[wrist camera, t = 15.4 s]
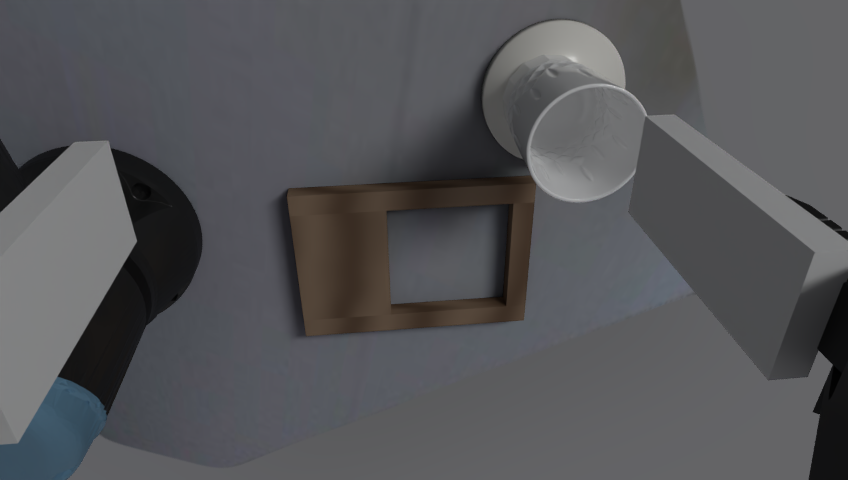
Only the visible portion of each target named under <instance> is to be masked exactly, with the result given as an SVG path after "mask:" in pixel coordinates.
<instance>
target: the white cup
mask: <svg viewBox="0 0 848 480" xmlns="http://www.w3.org/2000/svg"><path fill="white" fill-rule="evenodd" d="M502 99H503V109H504V117H505V119H506V121H507V123H508V125H509V128H510V132H511V134H512V137H513V139H514V141H515V144H516V146H517V148H518V150H519V152H520V154H521V156H522V158H523V160H524V162H525V164H526V166H527V168H528V170H529V172H530V174H531V176H532V178H533V180H534V181H535V183H536V184H537V185H538V186H539V188H540V189H541V190H543V191H544V192H545V193H547V194H548V195H550V196H551V197H553V198H556V199H558V200H561V201H565V202H573V203H582V202H590V201H594V200H598V199H601V198H603V197H605V196H608V195H610V194H612V193H613V192H615V191H617V190H618V189H619V188H621V187H622V186H623V185H625V184H626V183H627V182H628V181H629V180H630V179H631V178H632V177H633V175H634V174H635V172H636V166H637V161H638V155H639V150H640V144H641V138H642V133H643V127H644V122H645V116H647V114H646V111H645V109H644V107H643V106H642V104H641V103H640V102H639V100H638V99H637V98H636V97H635V96H633V95H632V94H631V93H630V92H628V91H626V90H625V89H623V88H621V87H620V86H618V85H616V84H615V83H613V82H612V81H610V80H608V79H607V78H605V77H603V76H602V75H600V74H598V73H597V72H595V71H594V70H592V69H590V68H588V67H586V66H584V65H582V64H579V63H575V62H574V61H572V60H570V59H569V58H567V57H565V56H564V55H541V56H538V57H536V58H534V59H531V60H529V61H527V62H524V63H523V64H522V65H521V66H520V67H519V68H518V69H517V71H516V72H515V73H514V74H513V75H512V76H511V77H510V78H509V80H508V83H507V86H506V89H505V92H504V94H503V97H502Z"/></svg>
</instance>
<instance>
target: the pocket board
mask: <svg viewBox="0 0 848 480" xmlns="http://www.w3.org/2000/svg"><path fill="white" fill-rule="evenodd" d="M535 190H536V183H535V181H534V180H533V178H532V176H514V177H495V178H476V179H457V180H439V181H420V182H401V183H382V184H364V185H345V186H326V187H307V188H289V189H288V194H287V201H288V208H289V215H290V223H291V230H292V237H293V245H294V252H295V259H296V266H297V274H298V281H299V288H300V295H301V303H302V310H303V317H304V325H305V332H306V336H314V335H328V334H342V333H356V332H369V331H383V330H397V329H410V328H424V327H438V326H452V325H465V324H479V323H493V322H506V321H520V320H524V313H525V301H526V290H527V279H528V268H529V257H530V246H531V235H532V224H533V213H534V201H535ZM498 204H509V212H508V227H507V242H506V257H505V272H504V287H503V297H492V298H478V299H463V300H449V301H434V302H420V303H406V304H391V298H390V277H389V256H388V234H387V213H386V211H392V210H410V209H427V208H445V207H462V206H480V205H498Z"/></svg>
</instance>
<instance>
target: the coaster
mask: <svg viewBox="0 0 848 480" xmlns="http://www.w3.org/2000/svg"><path fill="white" fill-rule="evenodd" d="M541 55H564V56H565V57H567V58H569V59H570V60H572V61H574V62H575V63H579V64H582V65H584V66H586V67H588V68H590V69H592V70H594V71H595V72H597V73H598V74H600V75H602V76H603V77H605V78H607V79H608V80H610V81H612V82H613V83H615V84H616V85H618V86H620V87H621V88H623V89H625V72H624V67H623V63H622V60H621V58H620V56H619V54H618V52H617V50H616V48H615V47H614V45H613V44H612V43H611V42H610V41H609V39H608V38H607V37H606V36H604V35H603V34H602V33H600V32H599V31H598V30H596V29H594V28H593V27H591V26H589V25H587V24H585V23H582V22H579V21H576V20H570V19H550V20H545V21H541V22H538V23H535V24H532V25H530V26H528V27H526V28H524V29H522V30H520V31H519V32H518V33H516V34H515V35H513V36H512V37H511V38H510V39H509V40H508V41H506V42H505V43H504V44H503V46H502V47H501V48H500V49H499V50H498V51H497V53H496V54H495V56H494V57H493V59H492V61H491V63H490V65H489V66H488V69H487V71H486V74H485V77H484V81H483V85H482V94H481V102H482V110H483V115H484V118H485V121H486V123H487V125H488V128H489V130H490V131H491V133H492V135H493V136H494V138H495V139H496V141H497V142H498V143H499V144H500V145H501V146H502V147H503V148H504V149H505V150H507V151H508V152H509V153H511V154H512V155H514V156H516V157H518V158H521V159H523V158H522V156H521V154H520V152H519V150H518V148H517V146H516V144H515V141H514V139H513V137H512V134H511V132H510V128H509V125H508V123H507V121H506V119H505V117H504V109H503V99H502V97H503V94H504V92H505V89H506V86H507V83H508V80H509V78H510V77H511V76H512V75H513V74H514V73H515V72H516V71H517V69H518V68H519V67H520V66H521V65H522V64H523V63H524V62H527V61H529V60H531V59H534V58H536V57H538V56H541Z"/></svg>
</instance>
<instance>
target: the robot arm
mask: <svg viewBox="0 0 848 480" xmlns="http://www.w3.org/2000/svg"><path fill="white" fill-rule="evenodd" d="M628 212H629V214H630V215H631V216H632V217H633V218H634V220H635V221H636V222H637V223H638V224H639V226H640V227H641V228H642V229H643V230H644V232H645V233H646V234H647V235H648V236H649V238H650V239H651V240H652V241H653V242H654V244H655V245H656V246H657V247H658V248H659V250H660V251H661V252H662V253H663V254H664V256H665V257H666V258H667V259H668V260H669V262H670V263H671V264H672V265H673V266H674V268H675V269H676V270H677V271H678V272H679V274H680V275H681V276H682V277H683V278H684V280H685V281H686V282H687V283H688V284H689V286H690V287H691V288H692V289H693V290H694V292H695V293H696V294H697V295H698V296H699V298H700V299H701V300H702V301H703V302H704V304H705V305H706V306H707V307H708V308H709V310H710V311H711V312H712V313H713V314H714V316H715V317H716V318H717V319H718V321H719V322H720V323H721V324H722V325H723V326H724V328H725V329H726V330H727V331H728V333H729V334H730V335H731V336H732V337H733V338H734V340H735V341H736V342H737V343H738V345H739V346H740V347H741V348H742V349H743V351H744V352H745V353H746V354H747V355H748V356H749V358H750V359H751V360H752V361H753V362H754V364H755V365H756V366H757V367H758V368H759V370H760V371H761V372H762V373H763V374H764V376H765V377H766V378H767V379H768V380H777V379H788V378H800V377H808V374H809V372H810V370H811V367H812V365H813V362H814V360H815V357H816V355H817V353H818V350H819V351H820V352H821V353H822V354H823V355H824V356H825V357H826V358H827V359H828V360H829V361H830V362H831V363H832V364H833V366H832V368H831V371H830V373H829V375H828V378H827V380H826V382H825V385H824V387H823V389H822V392H821V394H820V396H819V399H818V401H817V403H816V406H815V408H814V410H813V412H814V413H817V414H820V418H819V424H818V429H817V435H816V441H815V446H814V452H813V458H812V464H811V470H810V475H809V480H848V232H847V231H842V228H841V227H840V226H839V225H837V224H836V223H834V222H833V221H831V220H828V218H827V217H826V216H824V215H823V214H822V213H820V212H819V211H817V210H816V209H815V208H813V207H812V206H810V205H808V204H806V203H804V202H801V201H799V200H797V199H794V198H792V197H789V196H787V195H784V194H783V193H781V192H780V191H779V190H777V189H776V188H775V187H773V186H772V185H770V184H769V183H768V182H766V181H765V180H764V179H762V178H761V177H759V176H758V175H757V174H755V173H754V172H753V171H751V170H750V169H748V168H747V167H746V166H744V165H743V164H742V163H740V162H739V161H738V160H736V159H735V158H733V157H732V156H731V155H729V154H728V153H727V152H725V151H724V150H722V149H721V148H720V147H718V146H717V145H715V144H714V143H713V142H711V141H710V140H709V139H707V138H706V137H705V136H703V135H702V134H701V133H699V132H698V131H696V130H695V129H694V128H692V127H691V126H690V125H688V124H687V123H685V122H684V121H683V120H681V119H680V118H679V117H677V116H676V115H655V116H645V122H644V127H643V133H642V138H641V144H640V150H639V155H638V161H637V166H636V172H635V178H634V183H633V189H632V194H631V200H630V206H629V211H628ZM201 252H202V232H201V227H200V223H199V220H198V217H197V215H196V212H195V210H194V208H193V206H192V204H191V203H190V201H189V200H188V198H187V197H186V195H185V194H184V193H183V191H182V190H181V189H180V188H179V187H178V186H177V185H176V184H175V183H174V182H173V181H172V180H171V179H170V178H169V177H168V176H167V175H165V174H164V173H163V172H161V171H160V170H159V169H157V168H156V167H154V166H153V165H151V164H149V163H148V162H146V161H144V160H142V159H140V158H138V157H135V156H133V155H130V154H128V153H125V152H122V151H119V150H115V149H111V148H110V145H109V142H108V141H86V142H74V143H73V144H72V145H71V146H66V147H61V148H56V149H53V150H49V151H47V152H44V153H42V154H40V155H38V156H36V157H34V158H32V159H31V160H29V161H28V162H26V163H25V164H24V165H23V166H21V167H20V168H19V169H18V168H17V166H16V164H15V163H14V161H13V159H12V158H11V156H10V154H9V153H8V151H7V149H6V148H5V146H4V144H3V143H2V141H1V139H0V480H67V479H68V478H69V477H70V476H71V475H72V474H73V473H74V472H75V470H76V469H77V468H78V467H79V465H80V464H81V462H82V460H83V458H84V457H85V455H86V453H87V451H88V449H89V447H90V445H91V444H92V442H93V440H94V439H95V438H96V437H97V436H98V435H99V434H100V431H101V430H102V429H103V428H104V426H105V423H106V420H107V415H108V413H109V411H110V409H111V406H112V404H113V402H114V399H115V397H116V395H117V392H118V390H119V388H120V385H121V383H122V381H123V378H124V376H125V374H126V371H127V369H128V367H129V364H130V362H131V360H132V357H133V355H134V353H135V350H136V348H137V346H138V343H139V341H140V339H141V336H142V334H143V332H144V329H145V327H146V325H148V324H149V323H150V322H151V321H152V320H153V319H154V318H155V317H156V316H157V314H159V313H161V312H163V311H164V310H166V309H167V308H168V307H170V306H171V305H172V304H173V303H175V302H176V301H177V300H178V299H179V298H180V297H181V296H182V294H183V293H184V292H185V290H186V289H187V288H188V286H189V284H190V283H191V281H192V279H193V276H194V274H195V271H196V269H197V266H198V264H199V261H200V257H201Z"/></svg>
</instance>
